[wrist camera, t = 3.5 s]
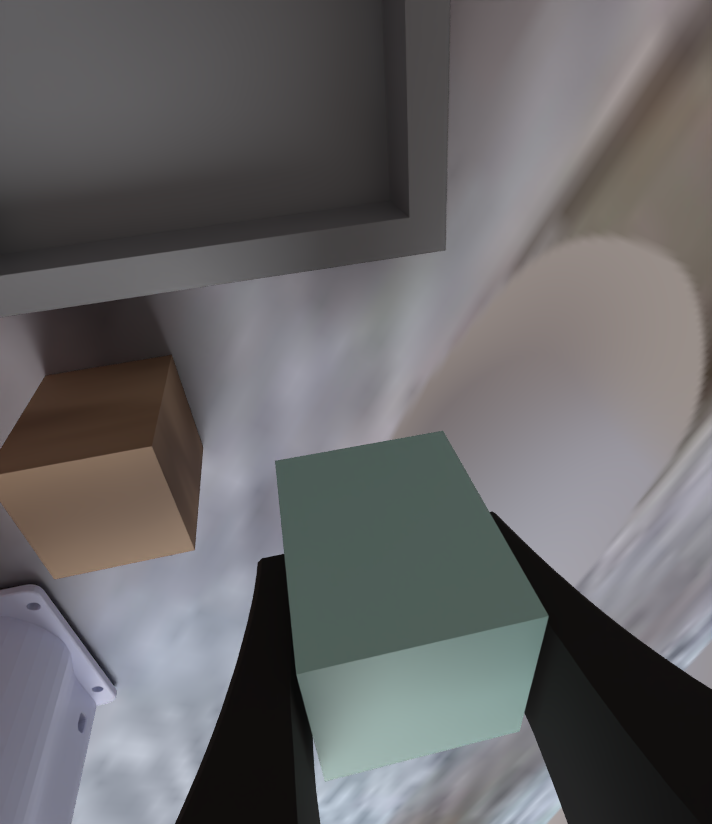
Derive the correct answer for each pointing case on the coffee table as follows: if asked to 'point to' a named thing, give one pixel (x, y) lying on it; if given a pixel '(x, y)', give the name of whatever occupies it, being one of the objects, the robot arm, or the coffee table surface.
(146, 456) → the walnut block
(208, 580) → the coffee table surface
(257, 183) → the tray
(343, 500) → the teal block
